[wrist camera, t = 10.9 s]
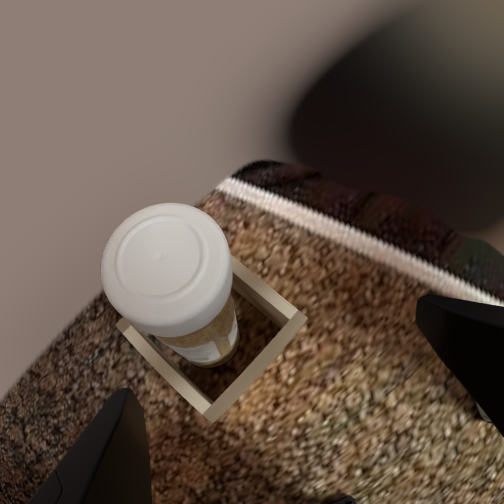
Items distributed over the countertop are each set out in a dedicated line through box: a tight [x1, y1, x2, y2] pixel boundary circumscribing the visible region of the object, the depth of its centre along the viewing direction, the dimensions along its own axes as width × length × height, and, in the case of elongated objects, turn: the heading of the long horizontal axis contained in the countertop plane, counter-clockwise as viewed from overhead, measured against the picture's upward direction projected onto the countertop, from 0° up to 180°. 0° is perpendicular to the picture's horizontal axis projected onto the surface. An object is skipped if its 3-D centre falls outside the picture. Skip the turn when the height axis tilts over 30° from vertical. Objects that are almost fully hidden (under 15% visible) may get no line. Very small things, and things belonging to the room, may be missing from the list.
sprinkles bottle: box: [101, 203, 240, 368], centre depth 16 cm, size 5×5×13 cm
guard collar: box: [115, 254, 308, 423], centre depth 21 cm, size 9×9×4 cm
